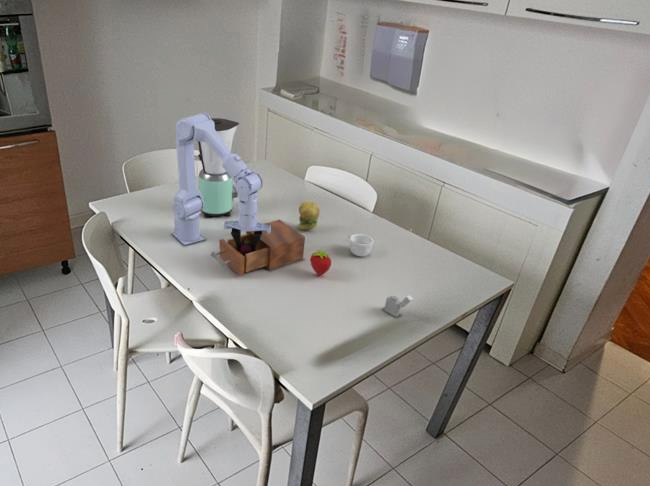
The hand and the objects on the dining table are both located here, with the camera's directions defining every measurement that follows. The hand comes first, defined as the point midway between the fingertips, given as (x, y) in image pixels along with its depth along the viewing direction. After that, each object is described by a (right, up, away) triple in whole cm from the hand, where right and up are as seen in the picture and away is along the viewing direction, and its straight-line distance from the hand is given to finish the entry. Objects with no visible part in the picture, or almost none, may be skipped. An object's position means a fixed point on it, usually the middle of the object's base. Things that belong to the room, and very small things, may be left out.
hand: (246, 250), depth 168 cm
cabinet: (+9, -1, +8) cm, 12 cm away
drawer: (-2, -4, +1) cm, 5 cm away
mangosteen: (0, -1, +1) cm, 1 cm away
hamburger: (+22, +8, +24) cm, 34 cm away
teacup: (+38, 0, +11) cm, 40 cm away
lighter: (+42, -19, -18) cm, 50 cm away
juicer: (-12, +16, +35) cm, 40 cm away
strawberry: (+23, -8, -2) cm, 25 cm away
